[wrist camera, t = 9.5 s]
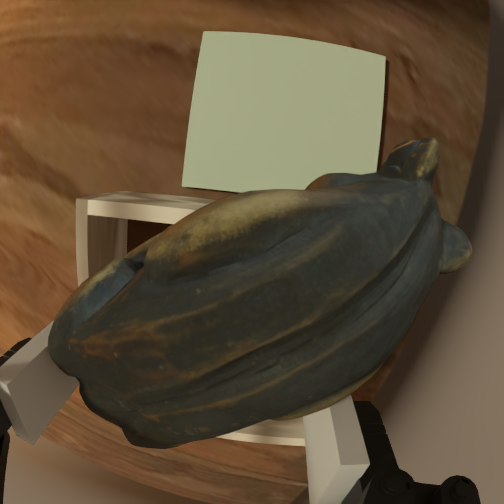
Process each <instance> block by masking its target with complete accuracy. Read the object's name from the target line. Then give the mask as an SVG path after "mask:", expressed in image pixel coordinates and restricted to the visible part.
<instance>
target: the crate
mask: <svg viewBox="0 0 504 504" xmlns="http://www.w3.org/2000/svg"><path fill="white" fill-rule="evenodd" d="M214 201H216V200H213V199H204V198H195V197H185V196H175V195H164V194H153V193H141V192H129V191H115V192H109V193H104V194H98V195H93V196H88V197H83V198H78V199H76V255H77V275H78V287H79V286H80V284H81V283H82V282H84V281H85V280H86V279H87V278H88V277H90V276H91V275H92V274H93V273H95V272H96V271H98V270H99V269H100V268H102V267H103V266H104V265H106V264H107V263H109V262H110V261H112V260H114V259H117V258H123V257H124V256H125V255H126V254H127V225H128V219H132V220H141V221H150V222H159V223H167V224H175V223H177V222H178V221H179V220H181V219H182V218H184V217H185V216H187V215H189V214H190V213H192V212H194V211H196V210H197V209H199V208H201V207H203V206H206V205H208V204H210V203H212V202H214ZM218 437H219V438H225V439H232V440H240V441H248V442H257V443H267V444H279V445H295V446H305V436H304V425H303V417H301V418H297V419H292V420H286V421H275V420H270V419H268V420H265V421H262V422H260V423H257V424H254V425H251V426H249V427H246V428H243V429H240V430H237V431H234V432H232V433H229V434H225V435H221V436H218Z"/></svg>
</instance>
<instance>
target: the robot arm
mask: <svg viewBox="0 0 504 504" xmlns="http://www.w3.org/2000/svg"><path fill="white" fill-rule="evenodd" d="M53 322H54V321H53ZM53 322H52V323H50V324H49V325H48V326H47V327H46V328H44V329H43V330H42V331H41V332H40V333H38V334H37V335H36V336H35V337H34V338H27V339H24V340H22V341H20V342H18V343H17V344H15V345H14V346H13V347H12V348H11V349H10V351H9V350H8V351H7V352H6V353H5V354H4V356H1V357H0V504H3V493H4V481H5V471H6V463H7V455H8V449H9V442H10V436H9V433H8V432H7V430H8V429H9V428H10V427H11V425H12V427H13V429H14V431H15V433H16V435H17V436H18V437H20V438H21V439H23V440H25V441H27V442H29V443H30V444H32V445H34V444H35V442H36V441H37V440H38V438H39V437H40V435H41V434H42V433H43V431H44V430H45V429H46V427H47V426H48V425H49V423H50V422H51V420H52V419H53V418H54V416H55V415H56V414H57V412H58V411H59V410H60V409H61V407H62V406H63V405H64V403H65V402H66V401H67V399H68V398H69V397H70V395H71V394H72V393H73V392H74V390H75V389H76V388H77V386H78V385H79V384H80V383H79V381H78V380H77V379H76V377H72V376H68V375H67V374H65V373H64V372H63V371H62V370H60V369H59V368H58V366H57V365H56V364H55V363H54V361H53V360H52V358H51V356H50V354H49V351H48V336H49V333H50V330H51V328H52V325H53ZM303 425H304V436H305V448H306V459H307V472H308V485H309V499H310V504H481V503H480V499H479V495H478V490H477V488H476V485H475V484H474V483H473V482H472V481H471V480H470V479H468V478H466V477H464V476H458V475H456V476H452V477H449V478H448V479H446V480H445V481H444V482H443V483H442V484H441V485H433V484H423V483H418V482H414V480H413V478H412V477H411V476H410V475H409V474H408V473H407V472H405V471H403V470H401V469H399V467H398V465H397V462H396V459H395V456H394V453H393V450H392V447H391V444H390V441H389V439H388V436H387V434H386V430H385V427H384V425H383V422H382V419H381V416H380V414H379V411H378V410H377V409H376V408H375V407H374V406H373V405H372V404H371V402H370V401H353V400H352V397H351V395H349V396H347V397H346V398H344V399H342V400H341V401H339V402H337V403H336V404H334V405H332V406H330V407H328V408H326V409H323V410H320V411H318V412H315V413H312V414H309V415H306V416H303Z"/></svg>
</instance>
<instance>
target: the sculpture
mask: <svg viewBox="0 0 504 504" xmlns="http://www.w3.org/2000/svg"><path fill="white" fill-rule="evenodd" d="M438 161H439V145H438V142H437V141H436V139H435V138H425V139H420V140H412V141H405V142H403V143H400V144H398V145H397V146H395V147H394V148H393V150H392V151H391V153H390V154H389V156H388V158H387V160H386V162H385V163H384V164H383V165H382V166H381V168H380V169H379V171H378V172H374V173H368V174H362V175H360V174H351V173H327V174H325V175H322V176H320V177H318V178H317V179H315V180H314V181H312V182H311V183H310V184H309V185H308V186H307V187H306V189H305V190H297V189H269V190H254V191H247V192H243V193H239V194H235V195H232V196H229V197H225V198H222V199H219V200H216V201H214V202H212V203H210V204H208V205H206V206H203V207H201V208H199V209H197V210H196V211H194V212H192V213H190V214H189V215H187V216H185V217H184V218H182V219H181V220H179V221H178V222H177V223H175V224H173V225H171V226H169V227H168V228H166V229H165V231H163V232H161V233H159V234H158V235H156V236H154V237H152V238H150V239H149V240H147V241H146V242H144V243H142V244H141V245H139V246H138V247H136V248H135V249H133V250H132V251H130V252H129V253H128V254H126V255H125V256H124V257H123V258H117V259H114V260H112V261H110V262H109V263H107V264H106V265H104V266H103V267H102V268H100V269H99V270H98V271H96V272H95V273H93V274H92V275H91V276H90V277H88V278H87V279H86V280H85V281H84V282H82V283H81V284H80V286H79V287H78V288H77V289H76V290H75V291H74V292H73V294H72V295H71V296H70V297H69V298H68V299H67V301H66V302H65V303H64V305H63V306H62V308H61V309H60V311H59V312H58V314H57V315H56V317H55V320H54V322H53V325H52V328H51V330H50V333H49V336H48V351H49V354H50V356H51V358H52V360H53V361H54V363H55V364H56V365H57V366H58V368H59V369H60V370H62V371H63V372H64V373H65V374H67V375H68V376H72V377H76V379H77V380H78V381H79V383H80V387H79V391H80V394H81V396H82V399H83V401H84V403H85V404H86V405H87V407H88V408H89V409H90V410H91V411H92V412H94V413H95V414H97V415H99V416H100V417H102V418H104V419H105V420H107V421H109V422H111V423H113V424H115V425H117V426H119V427H121V428H122V430H123V432H124V435H125V436H126V438H127V439H128V441H129V442H130V443H131V444H132V445H135V446H139V447H146V448H157V449H167V448H173V447H177V446H180V445H183V444H186V443H188V442H193V441H198V440H204V439H209V438H214V437H218V436H221V435H225V434H229V433H232V432H234V431H237V430H240V429H243V428H246V427H249V426H251V425H254V424H257V423H260V422H262V421H265V420H268V419H270V420H275V421H286V420H292V419H297V418H301V417H303V416H306V415H309V414H312V413H315V412H318V411H320V410H323V409H326V408H328V407H330V406H332V405H334V404H336V403H337V402H339V401H341V400H342V399H344V398H346V397H347V396H349V395H351V394H352V393H353V392H354V391H356V390H357V389H358V388H359V387H361V386H362V385H363V384H364V383H365V382H367V381H368V380H369V379H370V378H371V377H372V376H373V375H374V374H375V373H376V372H377V371H378V370H379V369H380V367H381V366H382V365H383V364H384V362H385V361H386V360H387V359H388V357H389V356H390V355H391V353H392V352H393V351H394V349H395V348H396V347H397V345H398V344H399V343H400V341H401V340H402V338H403V337H404V336H405V334H406V333H407V331H408V330H409V328H410V326H411V324H412V322H413V320H414V318H415V316H416V314H417V312H418V310H419V308H420V306H421V305H422V303H423V301H424V299H425V298H426V296H427V294H428V292H429V291H430V289H431V287H432V285H433V284H434V282H435V280H436V278H437V276H438V275H439V274H447V273H451V272H455V271H457V270H458V269H460V268H461V267H463V265H465V264H466V263H467V261H468V260H469V259H470V257H471V255H472V247H471V244H470V241H469V240H468V238H467V236H466V235H465V233H464V232H463V231H462V230H461V229H460V228H458V227H456V226H454V225H452V224H450V223H449V222H447V221H445V220H443V219H442V218H441V215H440V210H439V205H438V203H437V200H436V197H435V195H434V192H433V190H432V183H433V179H434V176H435V172H436V169H437V165H438Z"/></svg>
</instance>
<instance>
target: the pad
mask: <svg viewBox="0 0 504 504" xmlns="http://www.w3.org/2000/svg"><path fill="white" fill-rule="evenodd" d="M385 60H386V57H385V56H382V55H378V54H374V53H370V52H366V51H362V50H358V49H354V48H350V47H345V46H340V45H336V44H331V43H325V42H320V41H314V40H308V39H301V38H294V37H286V36H278V35H268V34H257V33H242V32H215V31H204V33H203V38H202V43H201V49H200V54H199V60H198V66H197V72H196V78H195V84H194V91H193V97H192V104H191V112H190V119H189V127H188V134H187V143H186V151H185V160H184V170H183V180H182V186H183V187H194V188H204V189H214V190H223V191H232V192H240V193H243V192H247V191H254V190H269V189H297V190H305V189H306V187H307V186H308V185H309V184H310V183H311V182H312V181H314V180H315V179H317V178H318V177H320V176H322V175H325V174H327V173H351V174H360V175H362V174H368V173H374V172H376V170H377V162H378V154H379V145H380V136H381V125H382V114H383V100H384V84H385Z"/></svg>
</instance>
